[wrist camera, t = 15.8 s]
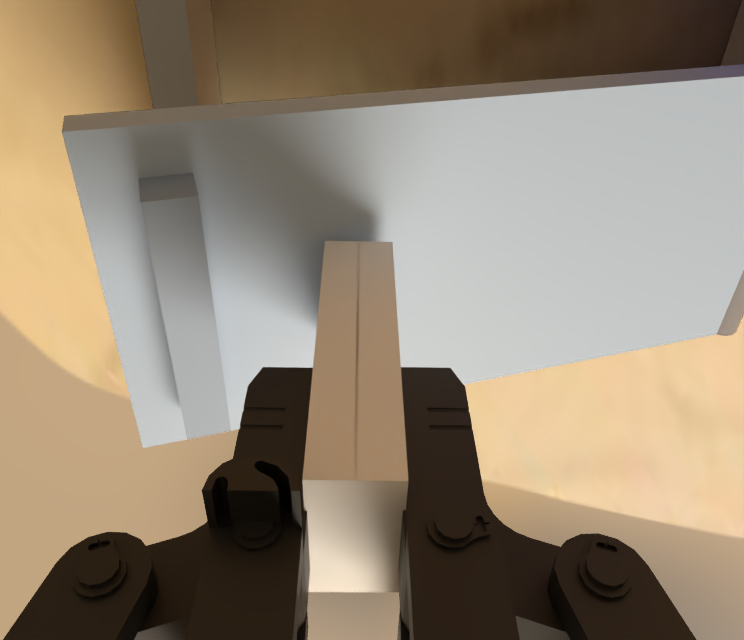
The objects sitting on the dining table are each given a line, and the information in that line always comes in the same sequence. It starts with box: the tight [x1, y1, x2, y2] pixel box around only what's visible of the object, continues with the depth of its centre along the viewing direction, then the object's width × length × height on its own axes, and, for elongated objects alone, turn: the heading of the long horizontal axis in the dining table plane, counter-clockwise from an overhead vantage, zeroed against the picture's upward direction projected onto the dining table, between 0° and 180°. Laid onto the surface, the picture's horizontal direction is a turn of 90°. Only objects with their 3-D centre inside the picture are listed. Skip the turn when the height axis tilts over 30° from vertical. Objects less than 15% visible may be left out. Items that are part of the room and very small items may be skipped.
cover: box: [62, 64, 744, 448], centre depth 16 cm, size 8×18×2 cm, turn 88°
